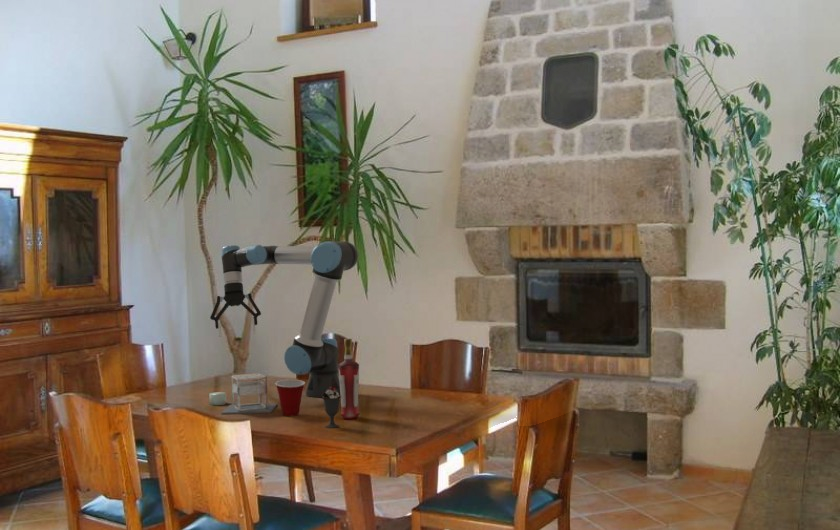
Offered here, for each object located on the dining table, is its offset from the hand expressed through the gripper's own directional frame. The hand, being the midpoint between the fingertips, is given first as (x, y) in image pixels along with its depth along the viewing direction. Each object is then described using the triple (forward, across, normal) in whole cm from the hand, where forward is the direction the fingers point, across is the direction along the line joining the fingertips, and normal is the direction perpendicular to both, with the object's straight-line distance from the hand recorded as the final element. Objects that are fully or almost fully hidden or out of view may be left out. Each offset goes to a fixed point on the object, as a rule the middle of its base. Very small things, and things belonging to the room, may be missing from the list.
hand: (237, 334), depth 368 cm
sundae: (+42, -32, +61) cm, 80 cm away
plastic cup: (+36, -19, +36) cm, 54 cm away
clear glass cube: (+31, -4, +23) cm, 38 cm away
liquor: (+39, -39, +48) cm, 73 cm away
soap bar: (+27, +9, +7) cm, 29 cm away
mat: (+31, -4, +23) cm, 39 cm away
